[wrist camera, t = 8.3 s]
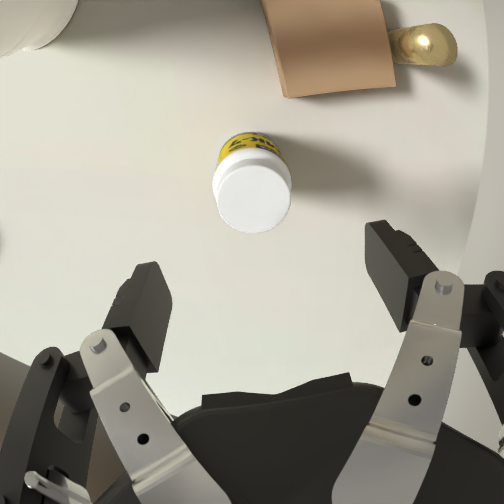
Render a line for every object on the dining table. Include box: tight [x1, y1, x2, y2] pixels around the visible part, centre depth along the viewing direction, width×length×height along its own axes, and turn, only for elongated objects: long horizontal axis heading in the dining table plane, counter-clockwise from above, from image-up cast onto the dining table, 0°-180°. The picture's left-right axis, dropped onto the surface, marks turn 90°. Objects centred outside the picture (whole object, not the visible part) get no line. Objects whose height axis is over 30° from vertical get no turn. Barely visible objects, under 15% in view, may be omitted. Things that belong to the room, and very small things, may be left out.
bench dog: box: [387, 23, 457, 66], centre depth 16 cm, size 3×3×6 cm
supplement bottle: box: [213, 132, 292, 233], centre depth 20 cm, size 5×5×8 cm
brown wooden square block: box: [261, 0, 396, 98], centre depth 18 cm, size 8×8×3 cm
